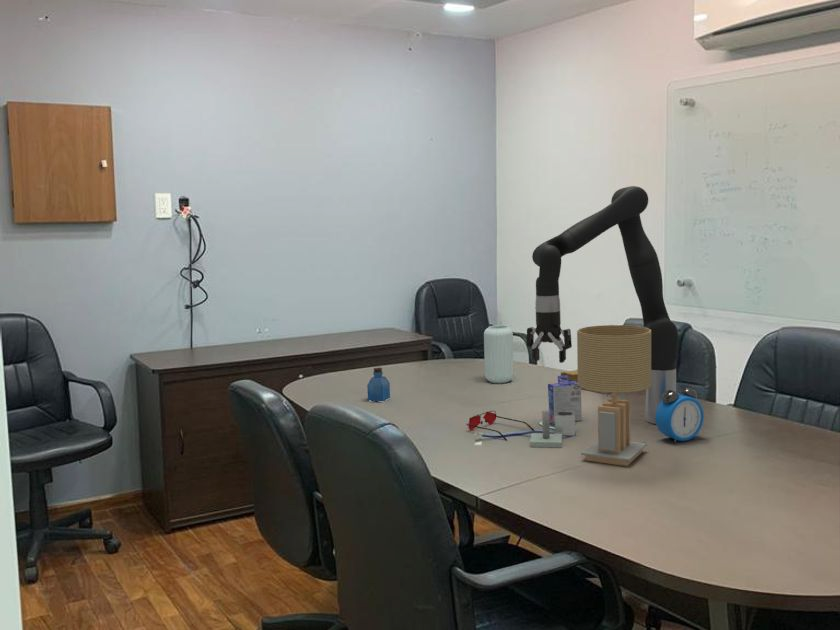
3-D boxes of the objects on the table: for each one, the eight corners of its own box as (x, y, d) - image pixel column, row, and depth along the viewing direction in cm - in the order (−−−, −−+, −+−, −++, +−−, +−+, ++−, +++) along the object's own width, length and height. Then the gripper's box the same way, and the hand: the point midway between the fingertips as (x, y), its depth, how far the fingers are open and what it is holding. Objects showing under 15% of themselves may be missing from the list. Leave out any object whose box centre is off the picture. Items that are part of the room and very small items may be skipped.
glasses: (494, 423, 261) (494, 408, 260) (535, 431, 249) (534, 416, 248) (465, 432, 251) (465, 417, 250) (506, 442, 239) (506, 425, 238)
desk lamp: (638, 471, 207) (639, 337, 203) (567, 461, 218) (566, 333, 213) (659, 451, 224) (660, 327, 219) (592, 442, 234) (591, 323, 229)
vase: (494, 377, 329) (493, 324, 326) (518, 380, 322) (517, 325, 319) (479, 382, 320) (478, 327, 317) (504, 385, 313) (503, 329, 310)
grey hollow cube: (575, 430, 248) (574, 411, 247) (575, 435, 242) (575, 416, 241) (555, 429, 249) (555, 411, 248) (555, 435, 243) (554, 416, 242)
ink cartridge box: (575, 416, 264) (575, 373, 262) (582, 420, 258) (582, 376, 256) (547, 419, 261) (547, 375, 260) (554, 423, 256) (553, 379, 254)
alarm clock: (668, 445, 229) (668, 394, 227) (654, 439, 235) (654, 389, 233) (704, 438, 234) (704, 388, 232) (689, 433, 240) (690, 384, 238)
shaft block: (561, 438, 239) (561, 407, 238) (561, 447, 230) (561, 415, 229) (531, 438, 241) (531, 407, 239) (530, 447, 232) (529, 415, 231)
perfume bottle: (368, 401, 295) (366, 369, 293) (375, 397, 300) (373, 366, 299) (383, 402, 292) (381, 370, 291) (390, 398, 298) (388, 367, 297)
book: (637, 389, 301) (637, 373, 300) (607, 396, 291) (607, 380, 290) (588, 379, 321) (588, 364, 320) (558, 385, 312) (558, 370, 311)
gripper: (574, 308, 245) (575, 360, 247) (532, 307, 253) (534, 357, 255) (563, 312, 239) (565, 365, 241) (521, 310, 247) (523, 362, 249)
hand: (549, 361), depth 248 cm, fingers open, 8 cm apart
